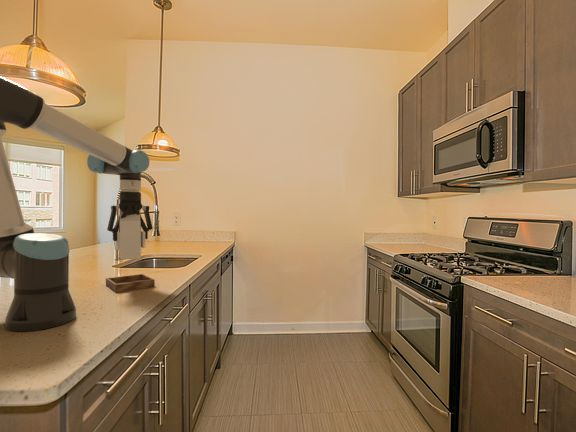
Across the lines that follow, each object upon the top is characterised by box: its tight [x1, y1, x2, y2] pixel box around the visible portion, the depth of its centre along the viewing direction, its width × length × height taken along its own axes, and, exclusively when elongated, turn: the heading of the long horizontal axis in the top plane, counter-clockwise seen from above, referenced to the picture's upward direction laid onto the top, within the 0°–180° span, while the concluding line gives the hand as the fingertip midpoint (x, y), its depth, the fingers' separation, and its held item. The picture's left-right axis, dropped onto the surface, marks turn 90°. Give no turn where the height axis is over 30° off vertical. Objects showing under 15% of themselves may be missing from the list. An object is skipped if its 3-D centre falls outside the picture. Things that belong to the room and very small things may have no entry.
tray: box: [105, 273, 156, 293], centre depth 126 cm, size 14×14×3 cm
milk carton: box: [119, 210, 142, 260], centre depth 126 cm, size 7×7×19 cm
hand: (130, 248), depth 126 cm, fingers closed on milk carton, 9 cm apart
